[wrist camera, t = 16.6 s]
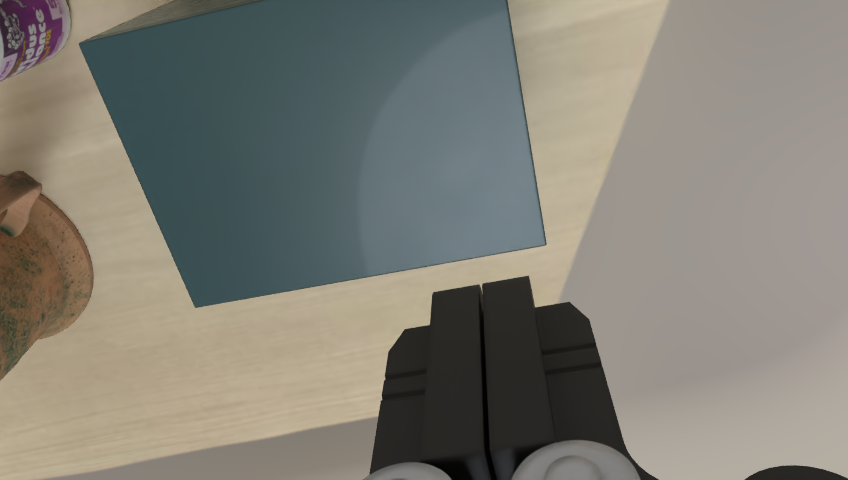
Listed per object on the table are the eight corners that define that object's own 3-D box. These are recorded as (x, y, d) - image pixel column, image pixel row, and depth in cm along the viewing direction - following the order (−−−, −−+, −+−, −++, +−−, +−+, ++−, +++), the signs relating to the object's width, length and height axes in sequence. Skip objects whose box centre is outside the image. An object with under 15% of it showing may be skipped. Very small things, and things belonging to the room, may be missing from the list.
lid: (496, -59, 24) (498, -56, 24) (544, 236, 30) (546, 246, 29) (87, 38, 26) (77, 43, 26) (200, 298, 32) (194, 308, 31)
